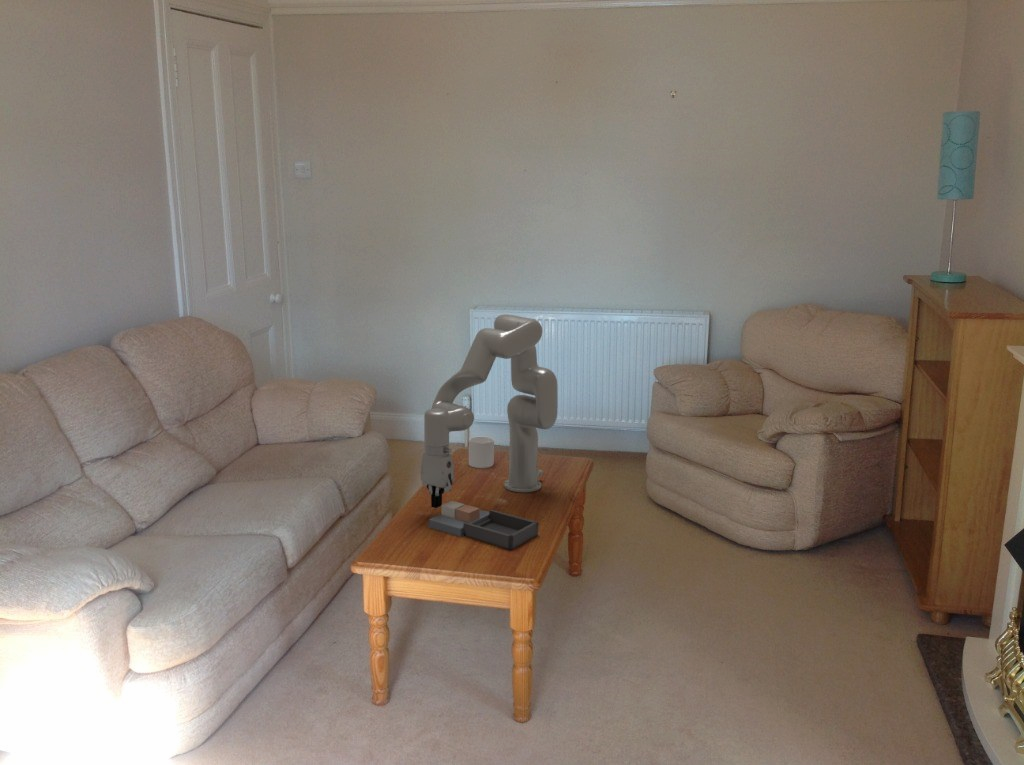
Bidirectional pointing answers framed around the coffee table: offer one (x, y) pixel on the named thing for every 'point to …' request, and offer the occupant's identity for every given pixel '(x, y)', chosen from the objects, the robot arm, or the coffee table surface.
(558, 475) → the coffee table surface
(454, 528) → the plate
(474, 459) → the mug
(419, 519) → the coffee table surface
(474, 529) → the box
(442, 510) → the tile
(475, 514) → the tile
